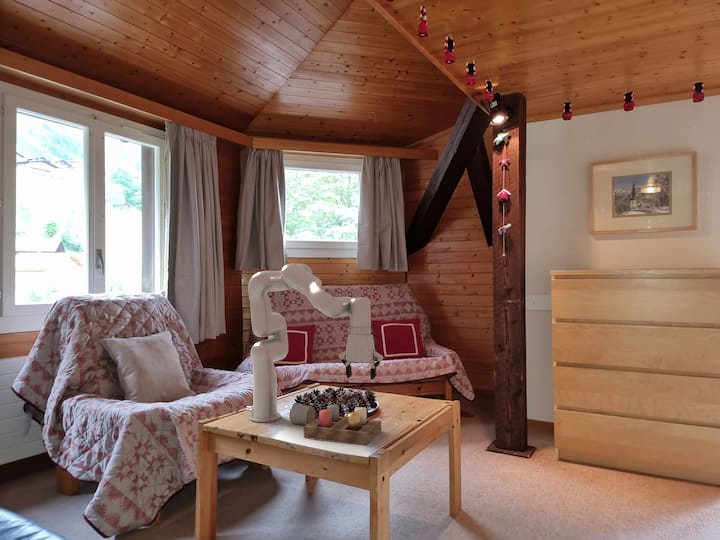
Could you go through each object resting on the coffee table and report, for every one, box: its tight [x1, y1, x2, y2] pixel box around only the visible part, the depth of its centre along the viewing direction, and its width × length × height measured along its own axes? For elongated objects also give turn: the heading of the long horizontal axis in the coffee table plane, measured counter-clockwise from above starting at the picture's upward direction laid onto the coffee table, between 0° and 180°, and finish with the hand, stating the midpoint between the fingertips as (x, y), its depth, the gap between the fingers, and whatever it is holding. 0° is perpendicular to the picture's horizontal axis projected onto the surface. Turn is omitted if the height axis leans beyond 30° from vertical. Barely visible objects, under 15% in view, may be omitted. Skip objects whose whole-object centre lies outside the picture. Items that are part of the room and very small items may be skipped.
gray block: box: [326, 404, 340, 422], centre depth 193 cm, size 4×4×5 cm
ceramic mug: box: [289, 402, 317, 426], centre depth 202 cm, size 11×8×8 cm
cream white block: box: [354, 406, 368, 425], centre depth 189 cm, size 4×4×5 cm
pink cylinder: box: [318, 408, 332, 427], centre depth 186 cm, size 4×4×5 cm
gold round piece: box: [347, 411, 360, 430], centre depth 183 cm, size 4×4×5 cm
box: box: [303, 416, 382, 446], centre depth 188 cm, size 24×16×4 cm, turn 70°
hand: (360, 377), depth 189 cm, fingers open, 8 cm apart
